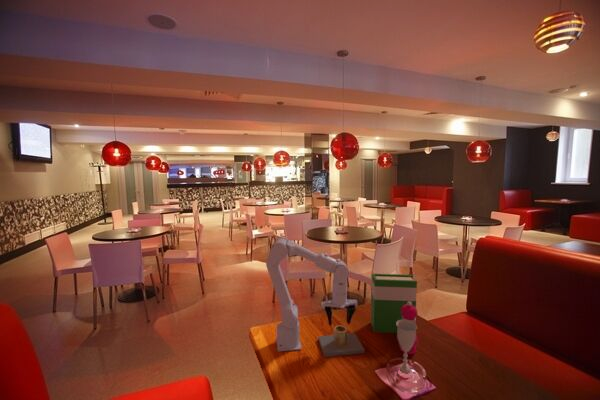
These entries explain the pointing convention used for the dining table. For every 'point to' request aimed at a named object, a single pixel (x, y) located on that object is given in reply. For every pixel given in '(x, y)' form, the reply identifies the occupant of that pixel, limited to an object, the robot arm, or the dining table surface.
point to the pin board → (334, 350)
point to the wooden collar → (340, 335)
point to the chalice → (406, 340)
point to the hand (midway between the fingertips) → (339, 323)
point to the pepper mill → (410, 314)
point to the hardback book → (390, 300)
